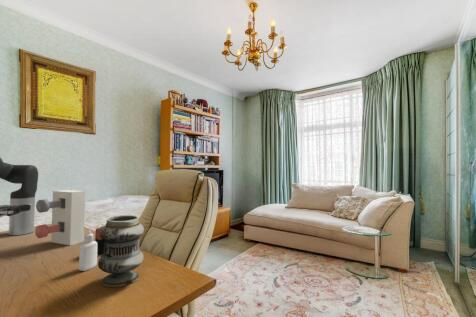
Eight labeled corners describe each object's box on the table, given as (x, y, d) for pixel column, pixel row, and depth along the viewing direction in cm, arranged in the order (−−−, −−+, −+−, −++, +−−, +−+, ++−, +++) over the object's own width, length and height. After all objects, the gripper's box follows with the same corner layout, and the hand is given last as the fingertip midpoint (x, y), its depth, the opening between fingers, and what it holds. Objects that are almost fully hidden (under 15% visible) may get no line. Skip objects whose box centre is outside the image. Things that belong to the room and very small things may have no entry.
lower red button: (43, 239, 96) (43, 226, 96) (34, 237, 97) (35, 224, 98) (61, 234, 102) (61, 222, 102) (53, 233, 104) (53, 221, 104)
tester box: (70, 245, 102) (71, 192, 103) (51, 242, 106) (52, 191, 107) (83, 241, 107) (85, 191, 108) (65, 238, 112) (66, 189, 113)
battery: (117, 250, 96) (118, 225, 96) (98, 255, 91) (99, 228, 91) (113, 248, 99) (113, 223, 99) (94, 252, 94) (95, 226, 94)
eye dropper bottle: (100, 267, 81) (101, 230, 81) (80, 272, 76) (82, 233, 77) (94, 263, 83) (96, 227, 84) (75, 268, 79) (77, 231, 79)
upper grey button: (44, 213, 96) (44, 200, 96) (35, 212, 98) (36, 199, 98) (62, 210, 102) (62, 198, 103) (54, 209, 104) (54, 197, 104)
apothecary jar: (113, 294, 64) (115, 224, 64) (88, 282, 70) (90, 218, 71) (151, 276, 74) (153, 216, 74) (127, 267, 80) (128, 212, 81)
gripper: (-22, 204, 75) (40, 198, 91) (-45, 202, 80) (19, 196, 96) (-24, 229, 75) (40, 218, 91) (-46, 225, 79) (18, 215, 96)
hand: (29, 207), depth 93 cm, fingers closed
